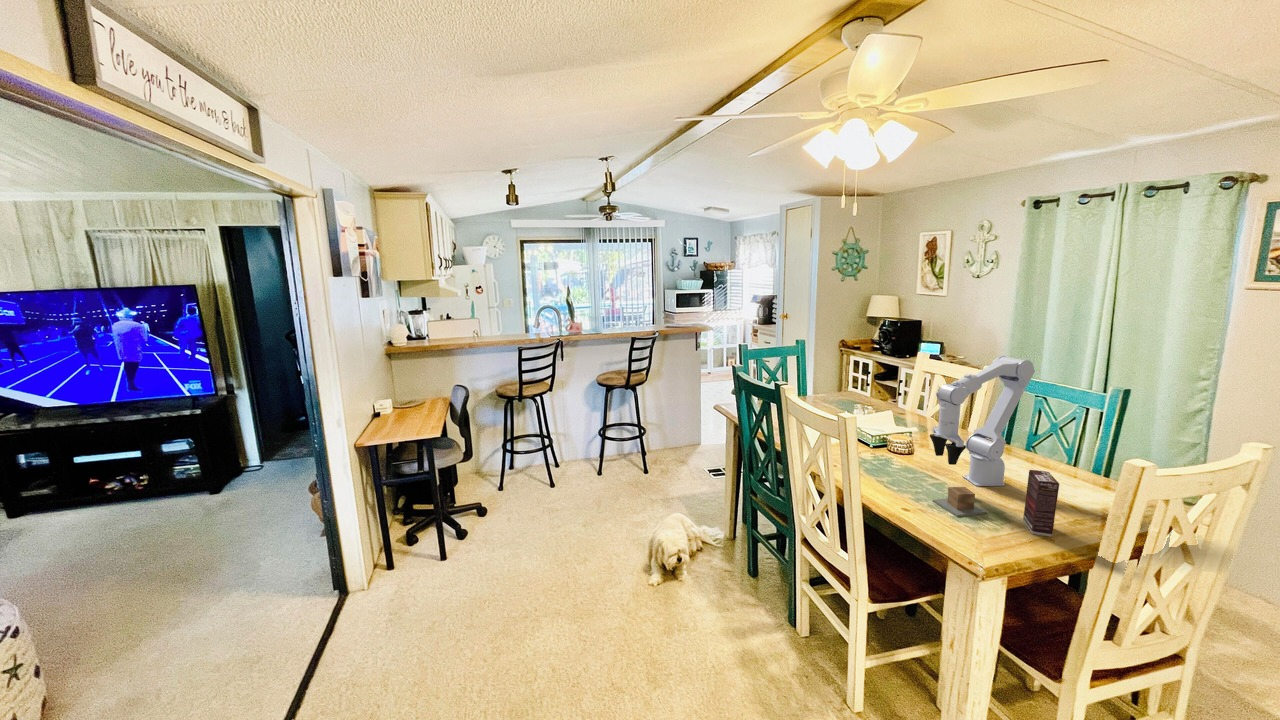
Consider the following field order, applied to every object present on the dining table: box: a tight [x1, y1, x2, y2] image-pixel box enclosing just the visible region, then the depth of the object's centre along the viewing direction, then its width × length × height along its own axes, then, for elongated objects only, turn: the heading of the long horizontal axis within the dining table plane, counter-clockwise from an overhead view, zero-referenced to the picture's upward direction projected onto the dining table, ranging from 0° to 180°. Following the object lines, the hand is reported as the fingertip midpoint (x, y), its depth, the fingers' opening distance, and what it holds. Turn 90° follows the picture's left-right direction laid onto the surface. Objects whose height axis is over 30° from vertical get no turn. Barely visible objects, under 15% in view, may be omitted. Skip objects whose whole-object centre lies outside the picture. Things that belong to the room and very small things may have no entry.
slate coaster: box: [932, 497, 988, 518], centre depth 153 cm, size 10×10×1 cm
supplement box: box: [1022, 469, 1060, 538], centre depth 138 cm, size 9×5×16 cm, turn 157°
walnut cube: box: [947, 486, 976, 510], centre depth 153 cm, size 5×5×5 cm
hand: (945, 459), depth 165 cm, fingers open, 7 cm apart
